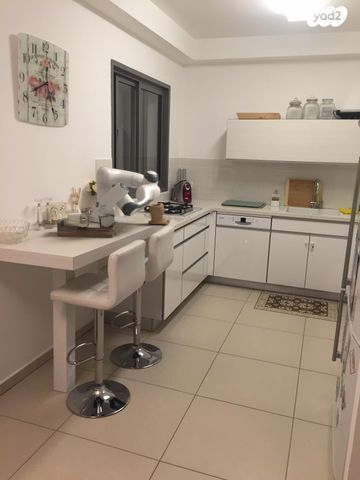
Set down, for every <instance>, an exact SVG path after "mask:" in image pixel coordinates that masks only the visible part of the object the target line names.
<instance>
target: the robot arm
mask: <svg viewBox="0 0 360 480" xmlns="http://www.w3.org/2000/svg"><path fill="white" fill-rule="evenodd" d="M95 174H96V202H95V208H94V210H93V212H92V213H90V218H89V219H88V220H89V221H90V222H95V223H99V218H98V216H99V215H100V214H105V213H109V214H114V215H115V217H114V223H118V219H117V217H116V210H115V209H114V208H115V207H116V206H117V207H118V208H119V209H120V211H121V212H122V214H123V215H124V216H126V217H131V216H134V215H135V214H136V213H137V212H139V211H141V210H143V209H146V207H149V206H150V204H151V203H152V202H153V201H154V200H156V199H157V198H159V196H160V195H161V188H160V187H159V185H158V183H159V174H158V173H157V172H155V171H154V170H147V171H144V174H141V173H138V172H133V171H129V170H124V169H117V168H110V167H109V166H104V165H103V166H100V167H99V168H98V169H97V171H96V173H95ZM113 185H114V186H113ZM129 188H131V189H136V192H135V197H136V198H135V199H136V200H137V201H138V202H135V201H134V200H133V198H132V197H131V196H130V195H129V194H128V193H129V192H130V190H129Z"/></svg>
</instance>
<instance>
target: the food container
mask: <svg viewBox="0 0 360 480" xmlns="http://www.w3.org/2000/svg"><path fill="white" fill-rule="evenodd" d="M115 215H116V214H115ZM115 215H114V214H109V213H105V214H100V215H99V216H98V218H99V222H98V224H99V228H114V223H115V222H114V217H115ZM115 218H116V217H115Z"/></svg>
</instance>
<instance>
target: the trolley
mask: <svg viewBox="0 0 360 480" xmlns="http://www.w3.org/2000/svg"><path fill="white" fill-rule="evenodd" d="M90 211H91V208H90V207H87V208H86V209H84V220H83V213H81V212H79V213H78V212H69V213H68V214H67V220H66V223H65V226H78V227H83V229H86V228H87V227H89V225H91V221H89V220H88V219H89V218H90V217H91V212H90Z"/></svg>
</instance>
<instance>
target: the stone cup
mask: <svg viewBox="0 0 360 480" xmlns="http://www.w3.org/2000/svg"><path fill="white" fill-rule="evenodd" d="M148 209H149V215H150V218H151V219H150V220H149V221H148V222H147V223H148V224H151V225H165V226H166V225H169V224H170V223H171V219H165V218H164V213H165V205H164V204H163V203H161V202H159V203H150V204H149V205H148Z"/></svg>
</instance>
